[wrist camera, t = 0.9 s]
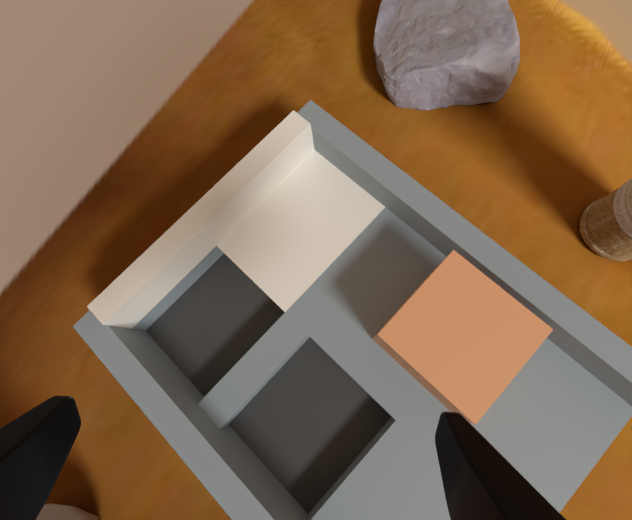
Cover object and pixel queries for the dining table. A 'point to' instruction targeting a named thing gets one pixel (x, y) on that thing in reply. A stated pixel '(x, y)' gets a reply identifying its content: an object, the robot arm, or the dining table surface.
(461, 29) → the stone block
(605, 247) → the sprinkles bottle
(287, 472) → the box
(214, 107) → the dining table surface
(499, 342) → the terracotta block
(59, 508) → the salt shaker
